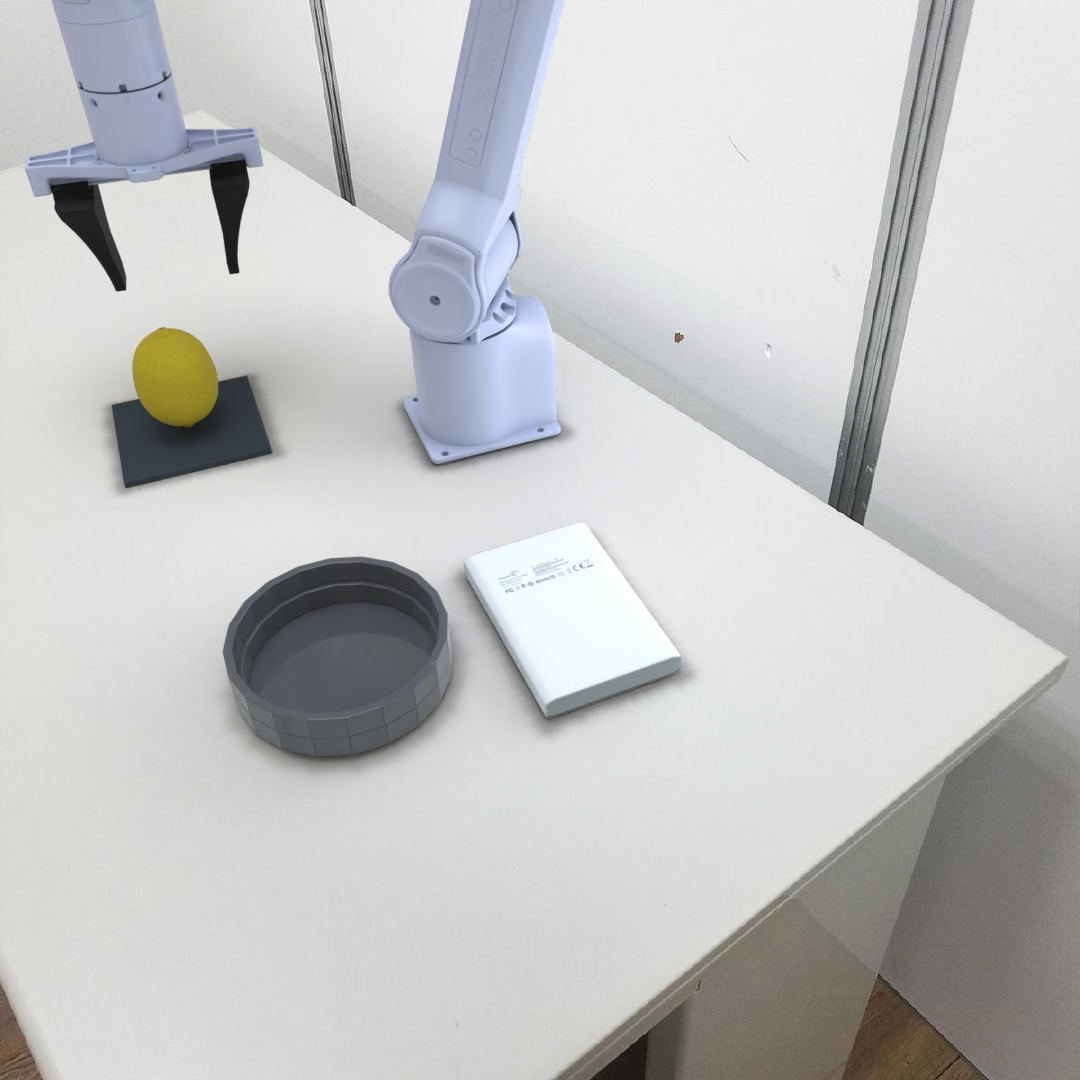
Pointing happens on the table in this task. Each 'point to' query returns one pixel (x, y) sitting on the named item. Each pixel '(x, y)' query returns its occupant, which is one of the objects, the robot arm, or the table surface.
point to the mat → (190, 436)
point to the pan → (339, 655)
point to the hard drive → (570, 619)
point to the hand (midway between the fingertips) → (177, 275)
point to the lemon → (175, 377)
